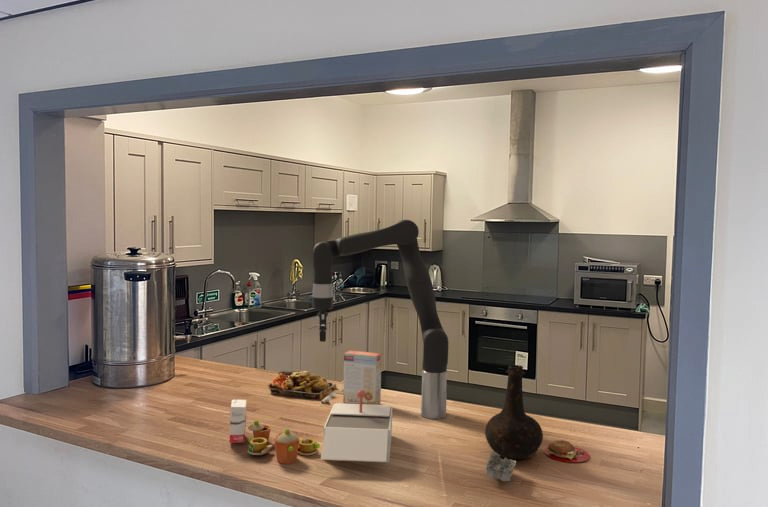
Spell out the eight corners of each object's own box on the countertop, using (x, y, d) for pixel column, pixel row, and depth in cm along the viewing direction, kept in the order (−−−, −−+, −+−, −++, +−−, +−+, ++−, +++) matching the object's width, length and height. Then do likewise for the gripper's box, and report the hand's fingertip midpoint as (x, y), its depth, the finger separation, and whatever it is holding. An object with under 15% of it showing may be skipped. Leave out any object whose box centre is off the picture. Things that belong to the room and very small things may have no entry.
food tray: (249, 396, 232) (249, 371, 231) (280, 381, 256) (280, 358, 255) (326, 407, 221) (327, 380, 220) (351, 389, 245) (351, 365, 244)
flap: (390, 406, 189) (391, 383, 189) (389, 416, 179) (389, 392, 178) (335, 404, 190) (335, 382, 190) (331, 414, 180) (331, 390, 179)
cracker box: (380, 404, 223) (382, 353, 222) (375, 409, 217) (376, 356, 216) (349, 400, 228) (350, 349, 227) (342, 404, 222) (343, 352, 221)
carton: (391, 435, 190) (392, 406, 189) (388, 475, 159) (388, 440, 159) (333, 433, 191) (333, 404, 190) (318, 472, 160) (318, 438, 160)
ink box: (244, 442, 181) (246, 406, 180) (229, 443, 180) (230, 407, 179) (245, 433, 189) (246, 398, 189) (230, 433, 188) (231, 399, 188)
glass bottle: (509, 469, 165) (512, 376, 163) (473, 448, 180) (475, 362, 179) (554, 459, 173) (557, 370, 172) (515, 439, 189) (518, 357, 187)
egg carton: (491, 463, 167) (492, 450, 167) (516, 470, 164) (518, 456, 164) (482, 476, 157) (484, 462, 157) (509, 484, 154) (511, 469, 154)
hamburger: (584, 467, 169) (585, 447, 168) (538, 456, 176) (539, 437, 176) (594, 452, 180) (594, 433, 180) (550, 442, 188) (551, 425, 188)
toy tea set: (325, 451, 176) (325, 421, 176) (294, 469, 162) (295, 437, 162) (261, 435, 188) (261, 407, 188) (228, 450, 175) (228, 420, 174)
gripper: (333, 298, 200) (333, 342, 201) (332, 293, 214) (332, 335, 215) (312, 298, 199) (312, 343, 200) (312, 293, 213) (312, 335, 214)
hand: (322, 339), depth 207 cm, fingers open, 8 cm apart
